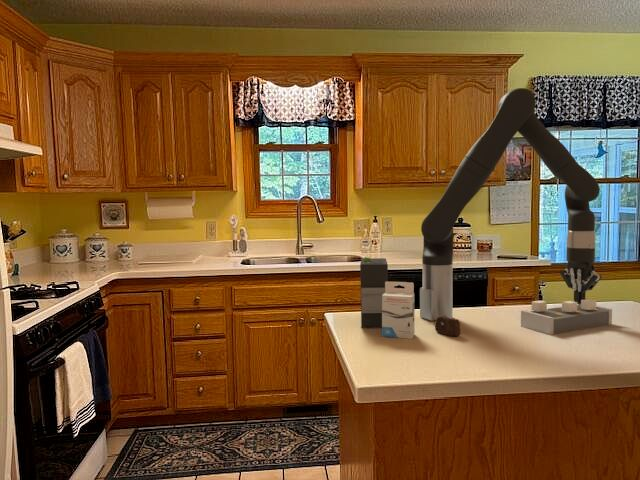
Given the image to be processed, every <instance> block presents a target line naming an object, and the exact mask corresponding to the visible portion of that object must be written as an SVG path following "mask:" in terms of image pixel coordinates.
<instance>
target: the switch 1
mask: <svg viewBox="0 0 640 480" xmlns="http://www.w3.org/2000/svg"><path fill="white" fill-rule="evenodd" d="M547 305H548V304H547V301H543V300H534V301H531V311H538V312H539V311H546V310H547V309H548V307H547Z"/></svg>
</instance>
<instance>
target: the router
mask: <svg viewBox="0 0 640 480" xmlns="http://www.w3.org/2000/svg"><path fill="white" fill-rule="evenodd" d="M359 265H360V266H359V268H360V269H359V272H360V274H359V275H360V279H359V280H360V315H361V316H360V321H361V323H360V324H361V326H360V328H362V329H364V328H365V329H382V295H383V294H384V293H385V282H389V280H388V279H389V278H388V277H389V273H388V272H389V271H388V269H389V267H388V261H387V258H385V257H384V258H372V257H371V256H370V257H366V256H364V258H361V259H360V264H359Z"/></svg>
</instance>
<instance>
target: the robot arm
mask: <svg viewBox="0 0 640 480" xmlns="http://www.w3.org/2000/svg"><path fill="white" fill-rule="evenodd" d="M536 103H537V102H536V96H535V94H534V93H533V92H532V91H531V90H530V89H528V88H525V87H518V88H515V89H512V90H510V91H508V92H506V93H505V94H504V95H503V96H502V97H501V98H500V100H499V102H498V106H497V108H498V109H497V110H498V111H497V113H496V114H495V117H494V118H493V119H492V122H491V123H490V125H489V126H488V128H487V129H486V130H485V132H484V133H483V134H482V135H481V136H480V137H479V138H478V139H477V140H476V142H474V144H473V145H472V146H471V148H470V149H469V150H468V152H467V153H466V154H465V156H464V157H463V158H462V161H461V162H460V164H459V165H458V167H457V168H456V171H455V172H454V173H453V176H452V177H451V179H450V180H449V183H448V185H447V187H446V189H445V191H444V193H443V194H442V196H441V198H440V199H439V200H438V202H437V203H436V204H435V206H433V208H432V209H431V211H429V213H428V214H427V215H426V216H425V217H424V219H423V220H422V222H421V226H420V227H421V228H420V231H421V234H422V236H423V251H422V258H421V259H422V260H421V261H422V263H421V265H422V287H420V288H419V317H420V318H421V319H425V320H428V321H436V322H437V318H438V317H441V316H446V317H448V318H451V319H454V318H453V314H454V313H453V310H454V309H453V256H454V226H455V224H456V222H457V221H458V219H459V217H460V216H461V213H462V212H463V210H464V208H465V207H466V206H467V205H468V204H469V203H470V201H471V200H472V199H473V198H474V197H475V196H476V195H477V194H478V193H479V191H480V190H481V188H482V187H484V185H485V183H486V182H487V180H488V179H489V178H490V176H491V174H492V173H493V171H494V170H495V169H496V167H497V164H498V163H499V162H500V160H501V158H502V156H503V155H504V154H505V151H506V149H507V147H508V145H509V144H510V142H511V141H512V139H513V138H514V137H515V135H516V134H517V133H519V134H520V135H521V136H522V137H523V138H524V139H525V140H526V142H527V143H528V144H529V146H531V147H532V149H533V150H534V152H535V153H536V154H537V155H538V157H539V158H540V160H541V161H542V162H543V164H544V165H545V166H546V167H547V169H548V170H549V171H550V172H551V174H552V175H553V176H554V178H556V179H558V180H560V181H562V182H564V184H565V185H566V186H565V189H564V201H565V207H566V212H567V217H568V218H567V235H566V256H565V257H566V258H565V260H566V261H567V264H566V268H565V269H563V270H560V271H559V273H560V275H561V277H562V280H563V281H564V282H565V284H566V286H567V288H569V289H572V290H573V302H577V305H578V304H581V300H584V299H586V293H587V291H592V290H593V289H594V287H596V285H597V284H598V283H599V282H600V281H601V279H602V277H603V276H602V275H601V274H598V273H597V272H596V271H595V270H596V269H595V265H594V263H595V261H596V233H595V232H596V229H595V227H596V226H595V225H596V217H595V213H594V212H593V211H592V210H591V209H590V202H593V201H595V200H596V199H597V198H598V197H599V195H600V192H601V190H600V185H599V182H598V181H597V180H596V178H595V177H594V176H593V175H592V174H591V173H590V172H589V171H588V170H586V169H585V168H584V167H583V166H582V165H581V164H579V163H578V162H577V160H576V159H575V157H574V156H573V155H572V154H571V152H570V151H569V150H568V149H567V147H566V146H565V145H564V144H563V143H562V142H561V141H560V140H559V139H558V138H557V137H556V136H555V135H554V134H553V133H552V132H550V131H549V130H548V128H546V126H545V125H544V124H543V123H542V122H541V120H540V119H539V118H538V117H537V115H536V113H535V108H536Z"/></svg>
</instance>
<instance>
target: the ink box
mask: <svg viewBox="0 0 640 480" xmlns="http://www.w3.org/2000/svg"><path fill="white" fill-rule="evenodd" d="M414 285H415V284H414V282H413V281H412V282H407V281H388V282H385V293H384V294H383V295H382V328H381V333H382V334H381V335H382V336H381V337H385V338H395V339H396V338H398V339H409V340H410V339H411V340H412V339H413V338H414V335H415V292H414V290H415V289H414V288H415V286H414ZM398 286H401V287H404V288H401V287H398Z"/></svg>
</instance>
